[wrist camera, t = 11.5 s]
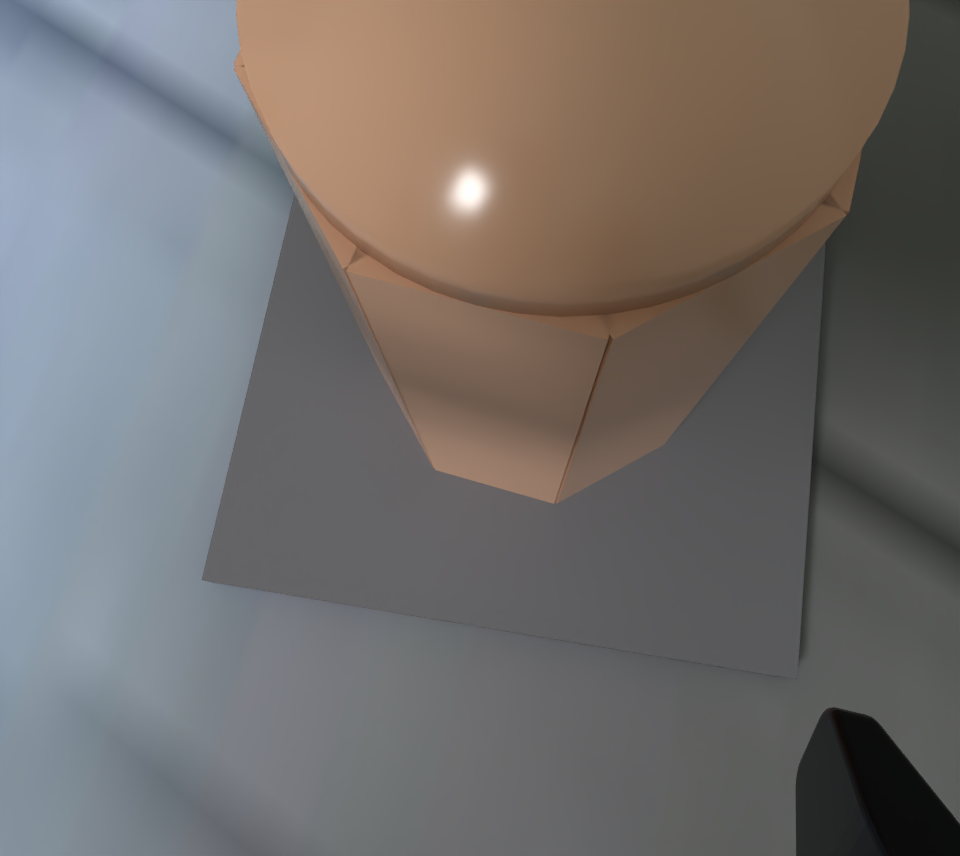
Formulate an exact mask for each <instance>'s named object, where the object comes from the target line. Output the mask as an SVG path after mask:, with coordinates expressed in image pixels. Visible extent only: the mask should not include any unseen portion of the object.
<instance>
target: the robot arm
mask: <svg viewBox="0 0 960 856" xmlns="http://www.w3.org/2000/svg"><path fill="white" fill-rule="evenodd" d="M796 856H960V823H959V822H958V821H957V820H956V818H955V817H954V816H953V815H952V813H951V812H950V811H949V810H948V809H947V807H946V806H945V805H944V804H943V802H942V801H941V800H940V799H939V797H938V796H937V795H936V794H935V792H934V791H933V790H932V789H931V787H930V786H929V785H928V784H927V782H926V781H925V780H924V779H923V777H922V776H921V775H920V774H919V772H918V771H917V770H916V769H915V768H914V766H913V765H912V764H911V763H910V761H909V760H908V759H907V758H906V756H905V755H904V754H903V753H902V751H901V750H900V749H899V748H898V746H897V745H896V744H895V743H894V741H893V740H892V739H891V738H890V736H889V735H888V734H887V733H886V731H885V730H884V729H883V728H882V726H881V725H880V724H879V723H878V722H877V721H876V720H875V719H873V718H872V717H870V716H868V715H865V714H860V713H856V712H852V711H848V710H844V709H839V708H828V709H826V710H825V711H824V712H823V714H822V715H821V717H820V719H819V721H818V723H817V725H816V728H815V730H814V732H813V734H812V737H811V739H810V741H809V743H808V746H807V748H806V750H805V752H804V754H803V757H802V759H801V761H800V764H799V767H798V771H797V777H796Z"/></svg>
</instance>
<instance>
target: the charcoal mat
mask: <svg viewBox="0 0 960 856" xmlns="http://www.w3.org/2000/svg"><path fill="white" fill-rule="evenodd" d="M825 250H826V242H825V243H824V244H823V245H822V247H821V248H820V249H819V250H818V252H817V253H816V254H815V255H814V257H813V258H812V259H811V260H810V262H809V263H808V264H807V266H806V267H805V268H804V269H803V271H802V272H801V273H800V274H799V276H798V277H797V278H796V279H795V281H794V282H793V283H792V284H791V286H790V287H789V288H788V289H787V291H786V292H785V293H784V294H783V296H782V297H781V298H780V299H779V301H778V302H777V303H776V304H775V306H774V307H773V308H772V309H771V311H770V312H769V313H768V314H767V316H766V317H765V318H764V320H763V321H762V322H761V323H760V325H759V326H758V327H757V328H756V330H755V331H754V332H753V333H752V335H751V336H750V337H749V338H748V340H747V341H746V342H745V343H744V345H743V346H742V347H741V348H740V350H739V351H738V352H737V353H736V355H735V356H734V357H733V358H732V360H731V361H730V362H729V363H728V365H727V366H726V367H725V369H724V370H723V371H722V372H721V374H720V375H719V376H718V377H717V379H716V380H715V381H714V382H713V384H712V385H711V386H710V387H709V389H708V390H707V391H706V392H705V394H704V395H703V396H702V397H701V399H700V400H699V401H698V402H697V404H696V405H695V406H694V407H693V409H692V410H691V411H690V412H689V414H688V415H687V416H686V417H685V419H684V420H683V421H682V423H681V424H680V425H679V426H678V428H677V429H676V430H675V431H674V433H673V434H672V435H671V436H670V438H669V439H668V440H667V441H666V443H665V444H664V445H662V446H661V447H659V448H657V449H655V450H653V451H652V452H650V453H648V454H646V455H644V456H642V457H641V458H639V459H637V460H635V461H633V462H632V463H630V464H628V465H626V466H624V467H622V468H621V469H619V470H617V471H615V472H613V473H611V474H610V475H608V476H606V477H604V478H602V479H601V480H599V481H597V482H595V483H593V484H591V485H590V486H588V487H586V488H584V489H582V490H581V491H579V492H577V493H575V494H573V495H571V496H570V497H568V498H566V499H564V500H562V501H560V502H559V503H557V504H556V502H555V503H554V504H553V503H549V502H546V501H542V500H539V499H535V498H532V497H528V496H525V495H521V494H518V493H514V492H511V491H507V490H504V489H500V488H497V487H493V486H490V485H486V484H483V483H479V482H476V481H472V480H469V479H465V478H462V477H458V476H455V475H451V474H448V473H444V472H441V471H437V470H435V468H433V467H432V465H431V463H430V461H429V459H428V458H427V456H426V454H425V452H424V450H423V448H422V446H421V445H420V443H419V441H418V439H417V437H416V435H415V433H414V432H413V430H412V428H411V426H410V424H409V422H408V420H407V419H406V417H405V415H404V413H403V411H402V409H401V407H400V406H399V404H398V402H397V400H396V398H395V396H394V394H393V393H392V391H391V389H390V387H389V385H388V383H387V381H386V380H385V378H384V376H383V374H382V372H381V370H380V368H379V367H378V365H377V363H376V360H375V358H374V356H373V354H372V352H371V350H370V348H369V346H368V344H367V342H366V340H365V338H364V336H363V334H362V332H361V330H360V328H359V325H358V323H357V321H356V319H355V317H354V315H353V313H352V311H351V309H350V307H349V305H348V303H347V301H346V299H345V297H344V295H343V293H342V290H341V288H340V286H339V284H338V282H337V280H336V278H335V276H334V274H333V272H332V270H331V268H330V266H329V264H328V262H327V260H326V258H325V255H324V253H323V251H322V249H321V247H320V245H319V243H318V241H317V239H316V237H315V235H314V233H313V231H312V229H311V227H310V225H309V223H308V220H307V218H306V216H305V214H304V212H303V210H302V208H301V206H300V204H299V202H298V200H297V198H296V196H295V195H294V199H293V203H292V208H291V212H290V216H289V220H288V224H287V228H286V232H285V237H284V241H283V245H282V249H281V253H280V257H279V261H278V266H277V270H276V274H275V278H274V282H273V286H272V290H271V295H270V299H269V303H268V307H267V311H266V315H265V319H264V324H263V328H262V332H261V336H260V340H259V344H258V349H257V353H256V357H255V361H254V365H253V369H252V373H251V378H250V382H249V386H248V390H247V394H246V398H245V402H244V407H243V411H242V415H241V419H240V423H239V427H238V431H237V436H236V440H235V444H234V448H233V452H232V456H231V460H230V465H229V469H228V473H227V477H226V481H225V485H224V490H223V494H222V498H221V502H220V506H219V510H218V514H217V519H216V523H215V527H214V531H213V535H212V539H211V543H210V548H209V552H208V556H207V560H206V564H205V568H204V572H203V577H202V580H204V581H209V582H215V583H221V584H227V585H233V586H239V587H245V588H251V589H257V590H263V591H269V592H275V593H281V594H287V595H293V596H299V597H305V598H311V599H317V600H323V601H329V602H335V603H341V604H347V605H353V606H359V607H365V608H371V609H377V610H383V611H389V612H395V613H401V614H407V615H413V616H419V617H425V618H431V619H437V620H443V621H449V622H455V623H461V624H467V625H473V626H479V627H485V628H491V629H497V630H503V631H509V632H515V633H521V634H527V635H533V636H539V637H545V638H551V639H557V640H562V641H568V642H574V643H580V644H586V645H592V646H598V647H604V648H610V649H616V650H622V651H628V652H634V653H640V654H646V655H652V656H658V657H664V658H670V659H676V660H682V661H688V662H694V663H700V664H706V665H712V666H718V667H724V668H730V669H736V670H742V671H748V672H754V673H760V674H766V675H772V676H778V677H784V678H790V679H797V676H798V661H799V646H800V630H801V615H802V600H803V585H804V569H805V554H806V539H807V524H808V509H809V493H810V478H811V463H812V448H813V432H814V417H815V402H816V387H817V372H818V356H819V341H820V326H821V311H822V295H823V280H824V265H825Z"/></svg>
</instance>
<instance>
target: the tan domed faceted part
mask: <svg viewBox="0 0 960 856" xmlns="http://www.w3.org/2000/svg"><path fill="white" fill-rule="evenodd" d="M909 15H910V7H909V0H237V13H236V16H237V25H238V34H239V43H240V51H239V54H238V56H237V58H236V61H235V63H234V66H235V69H234V70H235V72H236V74H237V76H238V78H239V80H240V83H241V85H242V87H243V89H244V91H245V93H246V95H247V97H248V99H249V101H250V103H251V105H252V107H253V109H254V111H255V113H256V115H257V118H258V120H259V122H260V124H261V126H262V128H263V130H264V132H265V134H266V136H267V138H268V140H269V142H270V144H271V146H272V148H273V150H274V153H275V155H276V157H277V159H278V161H279V163H280V165H281V167H282V169H283V171H284V173H285V175H286V177H287V179H288V181H289V183H290V185H291V188H292V190H293V192H294V194H295V196H296V198H297V200H298V202H299V204H300V206H301V208H302V210H303V212H304V214H305V216H306V218H307V220H308V223H309V225H310V227H311V229H312V231H313V233H314V235H315V237H316V239H317V241H318V243H319V245H320V247H321V249H322V251H323V253H324V255H325V258H326V260H327V262H328V264H329V266H330V268H331V270H332V272H333V274H334V276H335V278H336V280H337V282H338V284H339V286H340V288H341V290H342V293H343V295H344V297H345V299H346V301H347V303H348V305H349V307H350V309H351V311H352V313H353V315H354V317H355V319H356V321H357V323H358V325H359V328H360V330H361V332H362V334H363V336H364V338H365V340H366V342H367V344H368V346H369V348H370V350H371V352H372V354H373V356H374V358H375V360H376V363H377V365H378V367H379V368H380V370H381V372H382V374H383V376H384V378H385V380H386V381H387V383H388V385H389V387H390V389H391V391H392V393H393V394H394V396H395V398H396V400H397V402H398V404H399V406H400V407H401V409H402V411H403V413H404V415H405V417H406V419H407V420H408V422H409V424H410V426H411V428H412V430H413V432H414V433H415V435H416V437H417V439H418V441H419V443H420V445H421V446H422V448H423V450H424V452H425V454H426V456H427V458H428V459H429V461H430V463H431V465H432V467H433V468H435V470H437V471H441V472H444V473H448V474H451V475H455V476H458V477H462V478H465V479H469V480H472V481H476V482H479V483H483V484H486V485H490V486H493V487H497V488H500V489H504V490H507V491H511V492H514V493H518V494H521V495H525V496H528V497H532V498H535V499H539V500H542V501H546V502H549V503H553V504H554V503H555V502H556V504H557V503H559V502H560V501H562V500H564V499H566V498H568V497H570V496H571V495H573V494H575V493H577V492H579V491H581V490H582V489H584V488H586V487H588V486H590V485H591V484H593V483H595V482H597V481H599V480H601V479H602V478H604V477H606V476H608V475H610V474H611V473H613V472H615V471H617V470H619V469H621V468H622V467H624V466H626V465H628V464H630V463H632V462H633V461H635V460H637V459H639V458H641V457H642V456H644V455H646V454H648V453H650V452H652V451H653V450H655V449H657V448H659V447H661V446H662V445H664V444H665V443H666V441H667V440H668V439H669V438H670V436H671V435H672V434H673V433H674V431H675V430H676V429H677V428H678V426H679V425H680V424H681V423H682V421H683V420H684V419H685V417H686V416H687V415H688V414H689V412H690V411H691V410H692V409H693V407H694V406H695V405H696V404H697V402H698V401H699V400H700V399H701V397H702V396H703V395H704V394H705V392H706V391H707V390H708V389H709V387H710V386H711V385H712V384H713V382H714V381H715V380H716V379H717V377H718V376H719V375H720V374H721V372H722V371H723V370H724V369H725V367H726V366H727V365H728V363H729V362H730V361H731V360H732V358H733V357H734V356H735V355H736V353H737V352H738V351H739V350H740V348H741V347H742V346H743V345H744V343H745V342H746V341H747V340H748V338H749V337H750V336H751V335H752V333H753V332H754V331H755V330H756V328H757V327H758V326H759V325H760V323H761V322H762V321H763V320H764V318H765V317H766V316H767V314H768V313H769V312H770V311H771V309H772V308H773V307H774V306H775V304H776V303H777V302H778V301H779V299H780V298H781V297H782V296H783V294H784V293H785V292H786V291H787V289H788V288H789V287H790V286H791V284H792V283H793V282H794V281H795V279H796V278H797V277H798V276H799V274H800V273H801V272H802V271H803V269H804V268H805V267H806V266H807V264H808V263H809V262H810V260H811V259H812V258H813V257H814V255H815V254H816V253H817V252H818V250H819V249H820V248H821V247H822V245H823V244H824V243H825V242H826V240H827V239H828V238H829V237H830V235H831V234H832V233H833V232H834V230H835V229H836V228H837V227H838V225H839V224H840V223H841V222H842V220H843V219H844V218H845V217H846V215H847V214H848V213H849V211H850V206H851V202H852V197H853V192H854V187H855V182H856V178H857V173H858V168H859V163H860V158H861V154H862V149H863V145H864V144H865V142H866V141H867V139H868V138H869V136H870V135H871V133H872V132H873V130H874V129H875V127H876V126H877V124H878V122H879V120H880V118H881V116H882V114H883V112H884V110H885V107H886V105H887V103H888V101H889V99H890V97H891V95H892V92H893V90H894V88H895V85H896V81H897V78H898V74H899V71H900V67H901V64H902V60H903V57H904V53H905V49H906V40H907V32H908V23H909Z"/></svg>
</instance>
